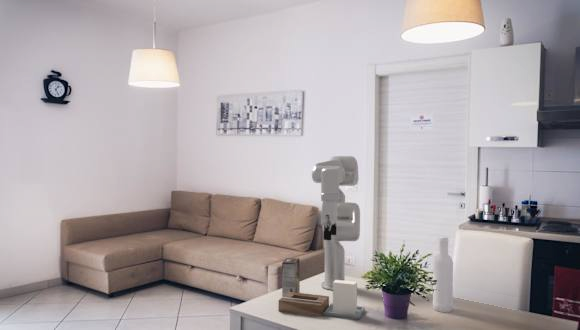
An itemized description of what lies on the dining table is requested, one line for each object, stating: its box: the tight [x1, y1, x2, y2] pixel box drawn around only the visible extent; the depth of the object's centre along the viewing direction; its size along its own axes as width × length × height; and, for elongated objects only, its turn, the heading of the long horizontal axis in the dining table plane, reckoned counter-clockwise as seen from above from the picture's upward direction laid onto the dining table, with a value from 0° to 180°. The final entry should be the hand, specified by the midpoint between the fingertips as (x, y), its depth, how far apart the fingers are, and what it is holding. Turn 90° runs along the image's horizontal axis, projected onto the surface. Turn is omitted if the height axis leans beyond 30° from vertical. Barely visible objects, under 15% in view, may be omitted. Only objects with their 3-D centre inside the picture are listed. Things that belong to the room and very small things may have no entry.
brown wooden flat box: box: [278, 292, 330, 317], centre depth 198 cm, size 12×18×5 cm, turn 70°
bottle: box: [432, 235, 454, 313], centre depth 197 cm, size 8×8×30 cm
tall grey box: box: [281, 257, 301, 298], centre depth 215 cm, size 9×6×16 cm
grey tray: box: [323, 302, 366, 321], centre depth 193 cm, size 11×14×2 cm
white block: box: [332, 280, 358, 314], centre depth 193 cm, size 4×9×12 cm, turn 71°
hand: (330, 237), depth 202 cm, fingers open, 9 cm apart
